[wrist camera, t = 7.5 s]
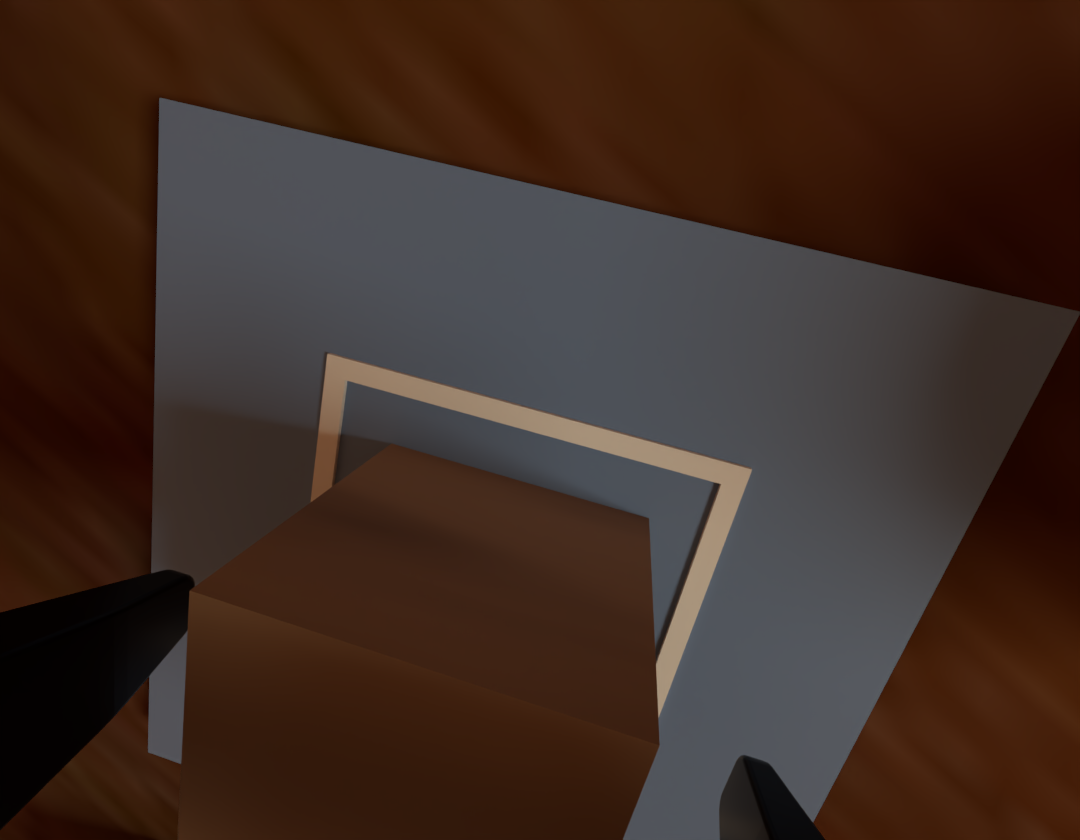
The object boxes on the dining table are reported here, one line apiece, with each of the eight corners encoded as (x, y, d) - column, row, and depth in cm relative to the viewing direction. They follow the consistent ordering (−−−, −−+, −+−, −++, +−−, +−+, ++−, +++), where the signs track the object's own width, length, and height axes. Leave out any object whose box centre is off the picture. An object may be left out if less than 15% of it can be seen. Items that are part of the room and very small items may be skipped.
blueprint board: (732, 924, 13) (739, 969, 12) (173, 727, 15) (144, 755, 14) (1042, 307, 9) (1086, 312, 8) (195, 110, 10) (154, 95, 9)
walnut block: (579, 727, 12) (540, 1050, 7) (357, 653, 12) (175, 908, 7) (649, 518, 10) (660, 745, 5) (391, 443, 11) (189, 589, 6)
